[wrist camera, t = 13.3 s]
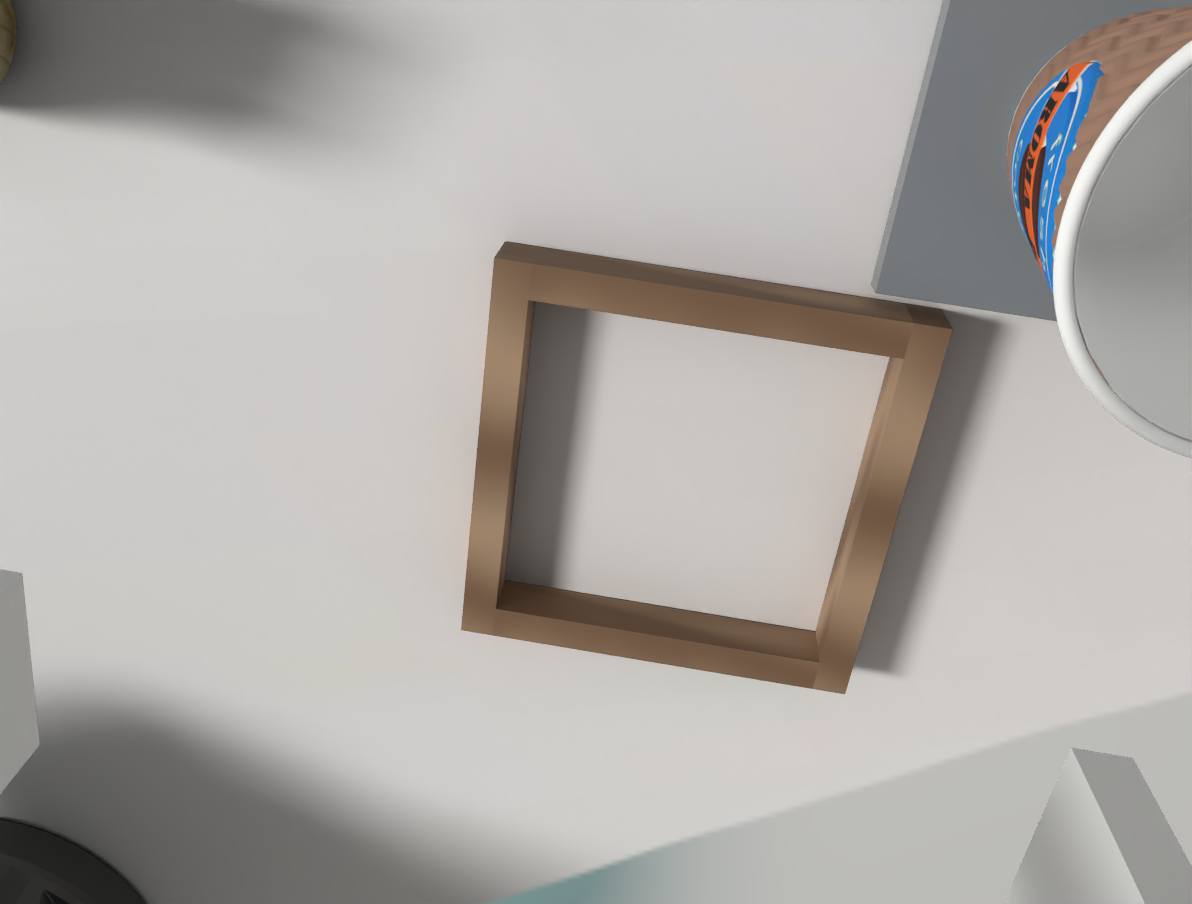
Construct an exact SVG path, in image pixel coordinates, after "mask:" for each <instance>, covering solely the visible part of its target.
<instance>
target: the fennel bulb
mask: <svg viewBox="0 0 1192 904" xmlns="http://www.w3.org/2000/svg"><path fill="white" fill-rule="evenodd" d="M16 28H17V27H16V17H15V12H14V8H13V5H12V3H11V0H0V83H1V82H2V80H3V79H4V77H5V75H6V74H7V72H8V69H9V67H10V65H11V63H12V60H13V56H14V53H15V45H16V43H15V41H16Z"/></svg>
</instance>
